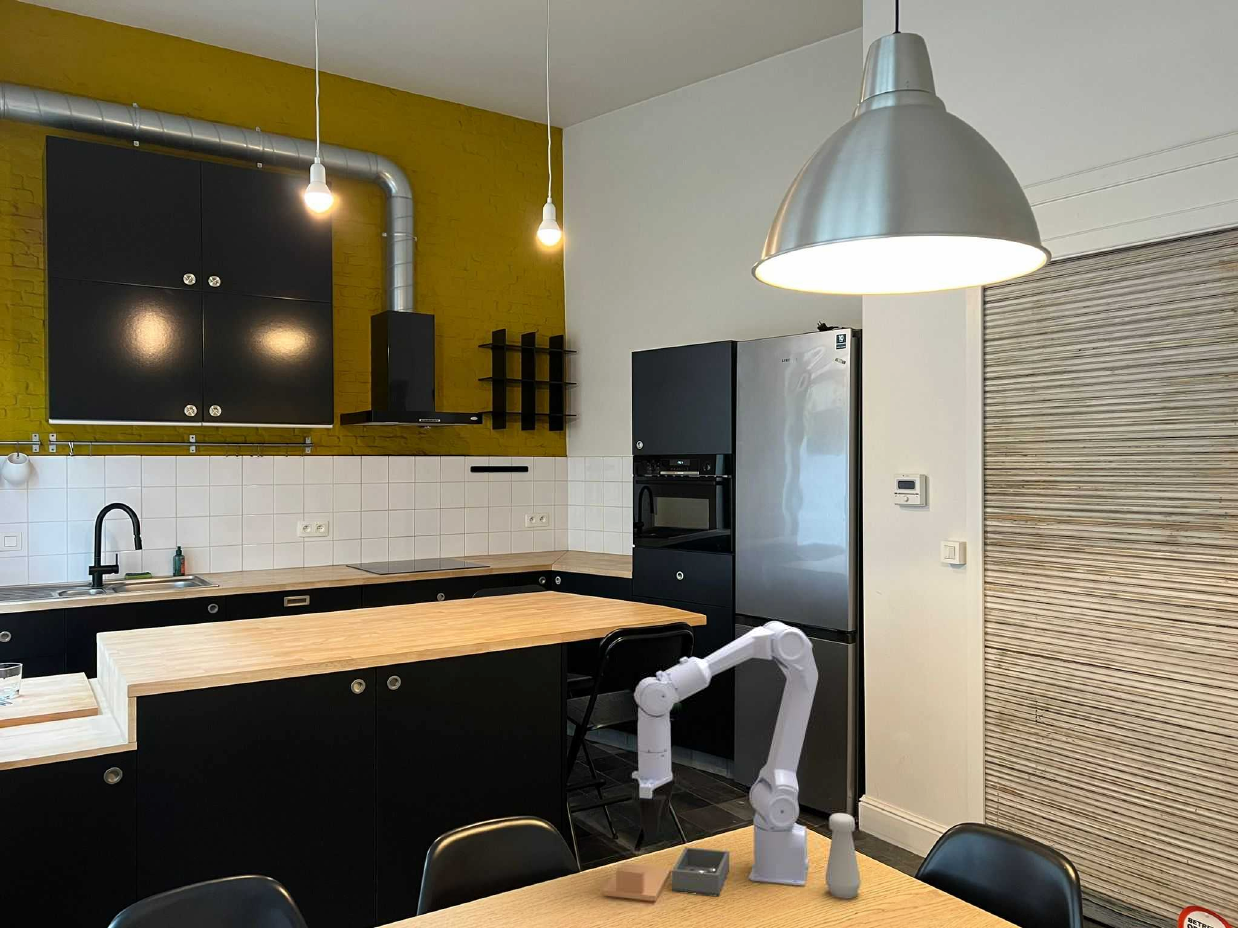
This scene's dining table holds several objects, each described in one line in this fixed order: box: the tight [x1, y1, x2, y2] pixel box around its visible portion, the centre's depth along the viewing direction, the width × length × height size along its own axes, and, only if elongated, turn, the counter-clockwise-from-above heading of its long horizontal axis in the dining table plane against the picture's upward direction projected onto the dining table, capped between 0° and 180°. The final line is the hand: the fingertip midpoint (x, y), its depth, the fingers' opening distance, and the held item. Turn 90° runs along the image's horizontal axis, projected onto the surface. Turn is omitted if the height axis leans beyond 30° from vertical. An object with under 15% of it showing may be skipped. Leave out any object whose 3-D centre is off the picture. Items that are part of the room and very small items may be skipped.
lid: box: [602, 862, 672, 902], centre depth 159 cm, size 9×12×5 cm
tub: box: [671, 846, 730, 897], centre depth 161 cm, size 8×11×4 cm
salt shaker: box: [825, 812, 862, 900], centre depth 156 cm, size 6×6×13 cm
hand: (655, 827), depth 161 cm, fingers open, 7 cm apart
